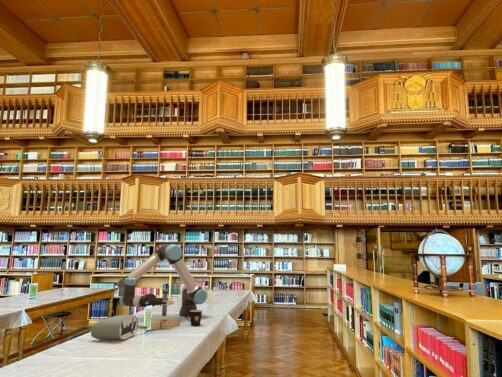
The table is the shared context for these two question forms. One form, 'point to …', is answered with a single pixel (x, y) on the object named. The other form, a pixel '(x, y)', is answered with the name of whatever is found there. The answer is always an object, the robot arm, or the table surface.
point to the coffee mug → (195, 317)
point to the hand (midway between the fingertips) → (172, 302)
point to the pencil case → (115, 328)
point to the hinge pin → (164, 307)
